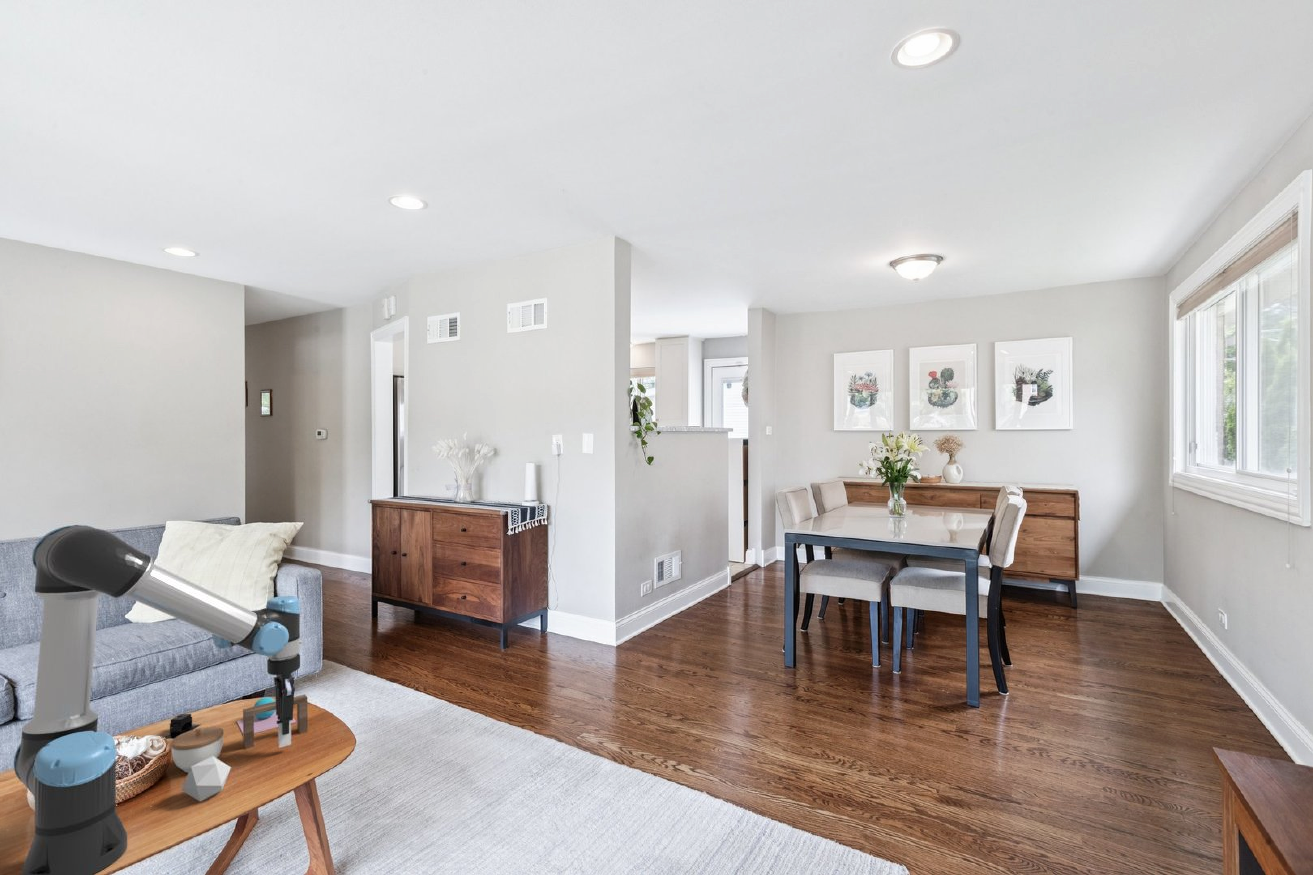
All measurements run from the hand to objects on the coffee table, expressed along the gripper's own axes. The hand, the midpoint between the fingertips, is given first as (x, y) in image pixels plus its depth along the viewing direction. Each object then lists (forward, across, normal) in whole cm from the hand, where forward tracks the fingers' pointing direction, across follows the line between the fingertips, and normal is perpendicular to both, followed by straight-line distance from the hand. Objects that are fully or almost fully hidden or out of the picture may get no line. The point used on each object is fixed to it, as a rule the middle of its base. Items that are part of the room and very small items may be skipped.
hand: (284, 744), depth 167 cm
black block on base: (+3, +35, +19) cm, 40 cm away
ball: (-1, +29, 0) cm, 29 cm away
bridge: (+2, +11, 0) cm, 11 cm away
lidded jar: (+2, +7, +18) cm, 19 cm away
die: (+2, -11, +18) cm, 21 cm away
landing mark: (+2, +25, 0) cm, 25 cm away
